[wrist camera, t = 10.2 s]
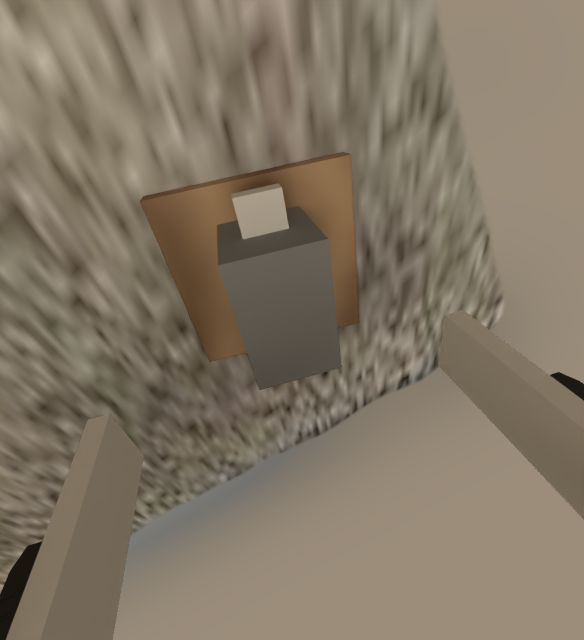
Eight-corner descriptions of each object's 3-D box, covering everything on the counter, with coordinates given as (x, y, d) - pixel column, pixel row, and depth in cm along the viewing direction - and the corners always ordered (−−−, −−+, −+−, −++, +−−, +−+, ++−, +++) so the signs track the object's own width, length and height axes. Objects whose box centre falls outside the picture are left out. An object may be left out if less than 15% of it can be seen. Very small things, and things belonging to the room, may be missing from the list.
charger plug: (249, 330, 23) (259, 390, 18) (206, 189, 17) (202, 220, 12) (314, 314, 23) (341, 367, 18) (293, 170, 18) (323, 191, 13)
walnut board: (209, 352, 25) (209, 361, 24) (143, 196, 18) (139, 201, 17) (353, 314, 26) (359, 322, 25) (343, 152, 19) (350, 154, 18)
